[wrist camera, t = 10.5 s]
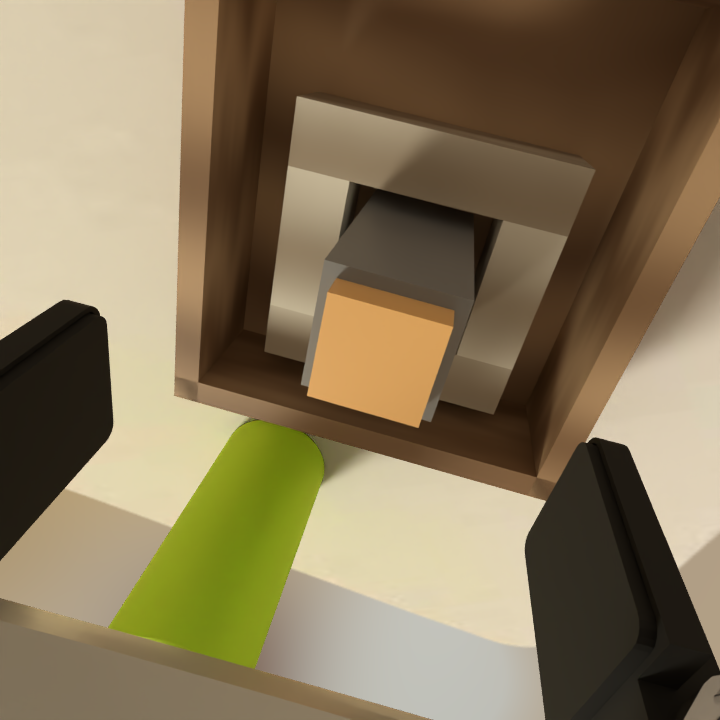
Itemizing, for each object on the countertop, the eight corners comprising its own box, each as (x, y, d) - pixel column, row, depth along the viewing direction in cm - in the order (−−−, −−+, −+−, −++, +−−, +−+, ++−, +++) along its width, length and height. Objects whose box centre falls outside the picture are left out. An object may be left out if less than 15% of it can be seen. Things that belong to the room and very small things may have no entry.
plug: (377, 188, 22) (314, 272, 13) (473, 214, 21) (474, 317, 13) (356, 278, 24) (291, 403, 15) (444, 302, 23) (428, 443, 15)
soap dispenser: (195, 446, 32) (-131, 900, 15) (285, 404, 29) (15, 903, 12) (254, 514, 34) (26, 986, 16) (343, 481, 31) (183, 1005, 14)
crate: (270, -124, 18) (190, -197, 13) (741, -18, 17) (855, -52, 12) (230, 332, 27) (174, 395, 22) (536, 416, 26) (552, 502, 21)
